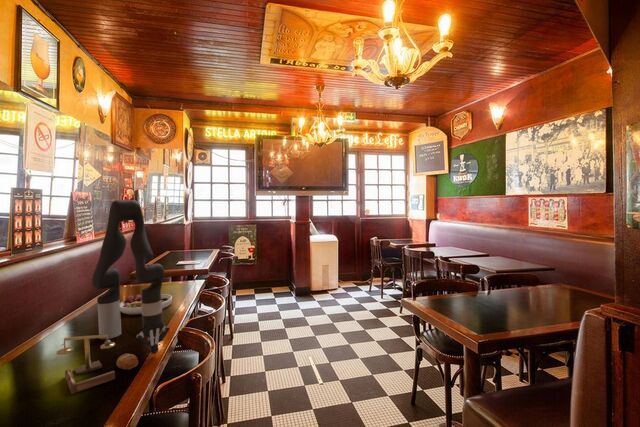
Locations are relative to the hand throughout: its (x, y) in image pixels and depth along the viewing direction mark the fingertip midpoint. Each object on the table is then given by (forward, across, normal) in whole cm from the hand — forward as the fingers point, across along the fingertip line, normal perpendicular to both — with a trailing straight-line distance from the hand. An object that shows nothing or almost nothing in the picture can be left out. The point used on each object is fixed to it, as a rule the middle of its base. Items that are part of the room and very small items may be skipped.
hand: (154, 353), depth 134 cm
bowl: (+2, -20, -78) cm, 81 cm away
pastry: (+2, +10, 0) cm, 10 cm away
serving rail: (+1, +22, 0) cm, 22 cm away
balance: (+2, +21, -9) cm, 23 cm away
